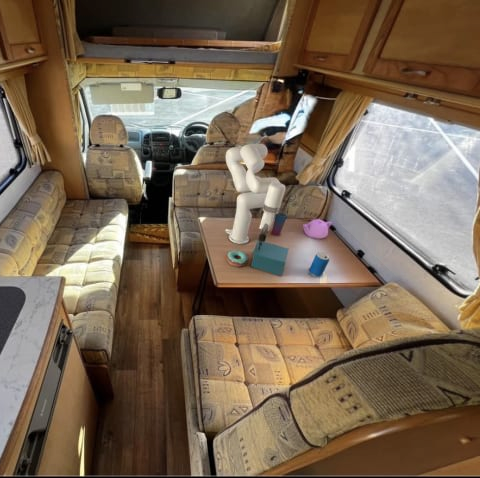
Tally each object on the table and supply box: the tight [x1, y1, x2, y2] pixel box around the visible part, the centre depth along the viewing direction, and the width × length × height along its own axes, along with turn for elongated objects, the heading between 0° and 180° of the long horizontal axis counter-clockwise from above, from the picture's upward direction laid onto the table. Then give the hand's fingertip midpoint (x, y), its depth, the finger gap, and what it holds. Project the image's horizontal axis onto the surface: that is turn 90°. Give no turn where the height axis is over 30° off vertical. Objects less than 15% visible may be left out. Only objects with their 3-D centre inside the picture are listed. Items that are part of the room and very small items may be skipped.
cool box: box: [250, 254, 286, 277], centre depth 144 cm, size 16×14×9 cm
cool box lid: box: [252, 239, 290, 264], centre depth 140 cm, size 16×14×6 cm
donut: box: [226, 250, 249, 268], centre depth 147 cm, size 12×12×4 cm
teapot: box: [302, 218, 333, 240], centre depth 169 cm, size 14×20×11 cm
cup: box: [271, 210, 289, 237], centre depth 167 cm, size 7×7×15 cm
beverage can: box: [308, 252, 330, 277], centre depth 137 cm, size 6×6×12 cm
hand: (263, 236), depth 139 cm, fingers open, 9 cm apart
